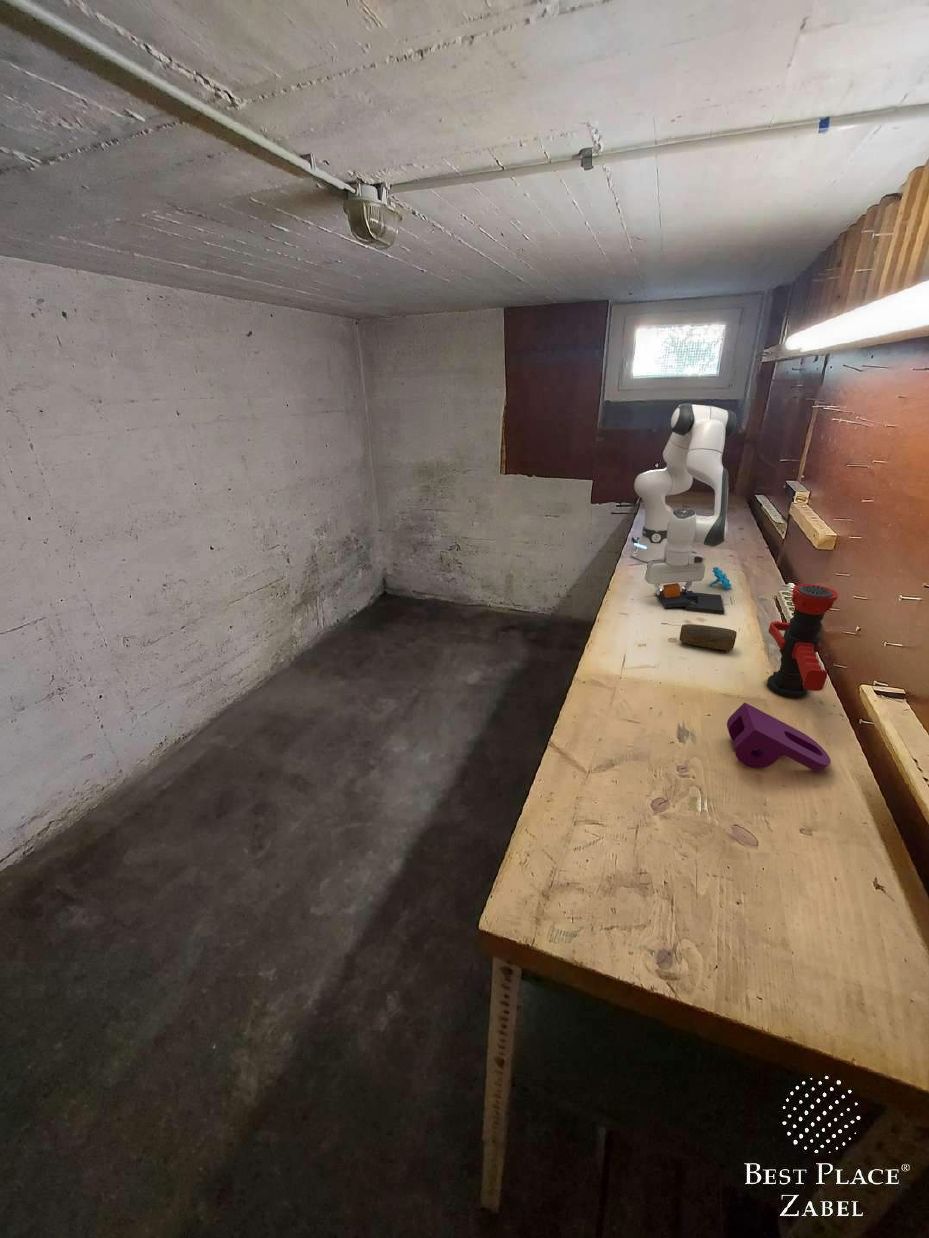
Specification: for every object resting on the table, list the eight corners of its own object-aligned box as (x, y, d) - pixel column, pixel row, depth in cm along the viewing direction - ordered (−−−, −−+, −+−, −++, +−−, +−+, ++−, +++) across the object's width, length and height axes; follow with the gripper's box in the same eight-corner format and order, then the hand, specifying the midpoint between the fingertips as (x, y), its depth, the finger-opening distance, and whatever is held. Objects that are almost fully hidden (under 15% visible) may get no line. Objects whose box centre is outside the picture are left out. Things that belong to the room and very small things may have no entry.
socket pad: (684, 595, 180) (684, 591, 179) (720, 598, 176) (720, 594, 175) (685, 610, 168) (685, 606, 167) (723, 614, 164) (724, 610, 163)
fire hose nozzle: (809, 613, 101) (780, 572, 123) (778, 718, 114) (756, 664, 135) (864, 617, 99) (825, 575, 120) (826, 725, 111) (796, 669, 132)
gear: (729, 590, 178) (713, 567, 180) (715, 598, 182) (699, 576, 184) (735, 584, 186) (720, 563, 188) (721, 592, 190) (706, 571, 192)
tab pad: (655, 593, 182) (655, 580, 180) (688, 589, 180) (688, 576, 178) (665, 608, 169) (664, 593, 167) (700, 604, 167) (700, 589, 165)
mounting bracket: (792, 766, 107) (719, 727, 108) (821, 742, 103) (744, 702, 104) (806, 797, 99) (727, 755, 100) (838, 773, 95) (754, 729, 96)
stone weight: (733, 644, 145) (737, 625, 142) (733, 655, 140) (738, 635, 137) (679, 636, 151) (682, 617, 148) (677, 646, 146) (681, 627, 143)
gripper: (651, 561, 165) (647, 598, 171) (710, 557, 166) (703, 594, 172) (644, 555, 170) (639, 591, 176) (700, 552, 171) (694, 588, 177)
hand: (671, 593), depth 174 cm, fingers open, 8 cm apart
